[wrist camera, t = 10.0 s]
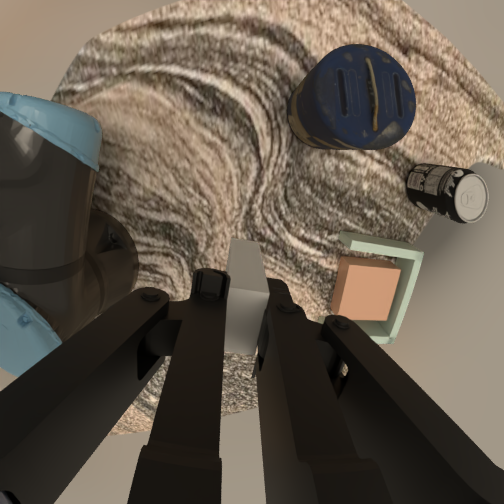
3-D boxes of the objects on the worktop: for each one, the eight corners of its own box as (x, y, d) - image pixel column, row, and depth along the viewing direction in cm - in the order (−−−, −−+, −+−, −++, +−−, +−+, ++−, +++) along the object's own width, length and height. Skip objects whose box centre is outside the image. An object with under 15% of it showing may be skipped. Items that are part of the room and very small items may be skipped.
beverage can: (441, 204, 41) (491, 221, 30) (406, 210, 41) (454, 231, 30) (437, 161, 39) (489, 167, 28) (401, 165, 39) (450, 173, 28)
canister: (360, 91, 36) (432, 59, 19) (349, 157, 39) (420, 163, 22) (290, 73, 36) (325, 21, 18) (279, 142, 38) (309, 133, 21)
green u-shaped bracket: (317, 323, 46) (324, 340, 41) (340, 230, 42) (352, 240, 37) (381, 327, 47) (393, 343, 42) (407, 242, 43) (424, 252, 38)
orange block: (329, 306, 46) (336, 319, 42) (340, 255, 43) (349, 264, 40) (376, 308, 46) (386, 320, 42) (389, 260, 44) (400, 269, 40)
